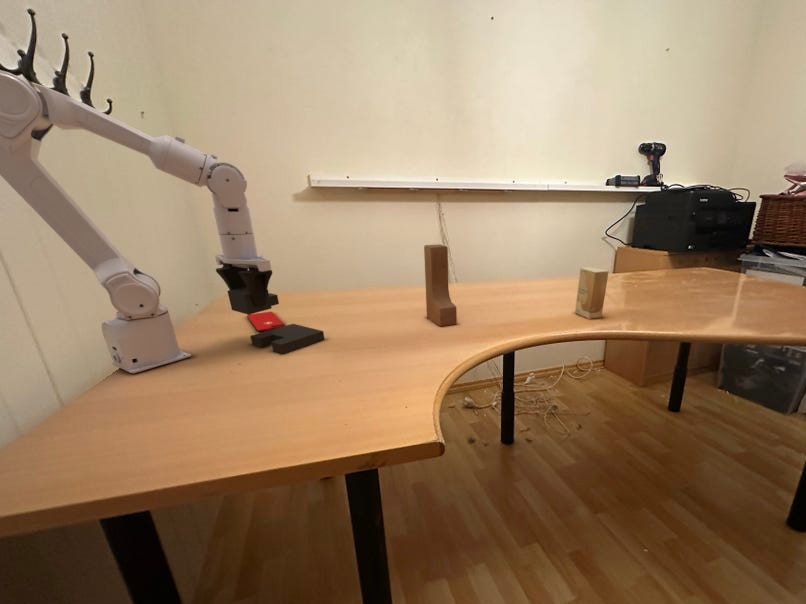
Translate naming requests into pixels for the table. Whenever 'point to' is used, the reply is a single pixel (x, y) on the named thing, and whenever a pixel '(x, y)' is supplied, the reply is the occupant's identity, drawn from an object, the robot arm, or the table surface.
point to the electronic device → (265, 321)
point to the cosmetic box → (591, 292)
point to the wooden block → (438, 286)
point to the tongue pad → (249, 301)
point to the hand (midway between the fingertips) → (251, 303)
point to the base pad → (288, 338)
